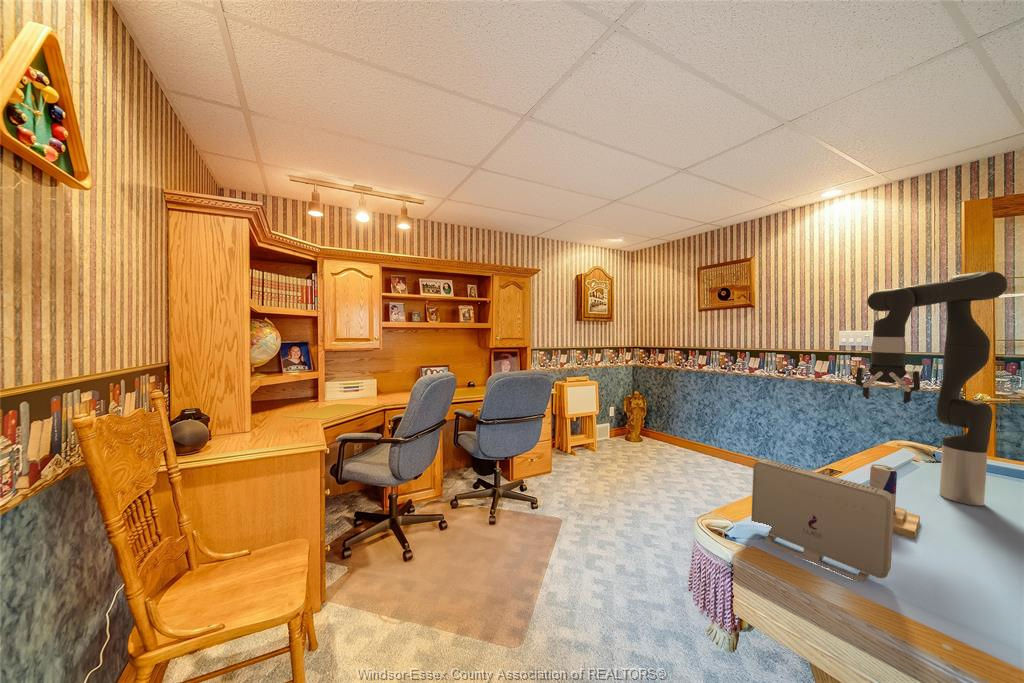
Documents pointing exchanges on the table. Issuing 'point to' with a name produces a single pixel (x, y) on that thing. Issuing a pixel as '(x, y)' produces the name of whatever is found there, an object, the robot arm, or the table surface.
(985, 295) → the robot arm
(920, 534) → the table surface
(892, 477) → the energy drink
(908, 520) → the plinth
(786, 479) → the network device
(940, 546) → the table surface
